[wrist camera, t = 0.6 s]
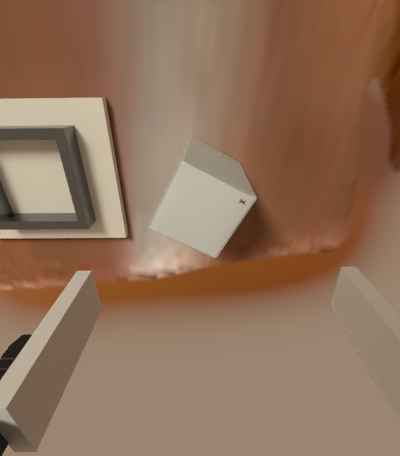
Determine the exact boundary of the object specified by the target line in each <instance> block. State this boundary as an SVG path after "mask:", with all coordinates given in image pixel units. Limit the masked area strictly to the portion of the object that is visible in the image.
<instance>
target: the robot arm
mask: <svg viewBox="0 0 400 456" xmlns="http://www.w3.org/2000/svg"><path fill="white" fill-rule="evenodd" d="M330 307H331V309H332V311H333V312H334V314H335V316H336V317H337V319H338V320H339V322H340V324H341V325H342V327H343V329H344V330H345V332H346V334H347V335H348V337H349V339H350V340H351V342H352V344H353V345H354V347H355V349H356V350H357V352H358V354H359V355H360V357H361V359H362V360H363V362H364V364H365V365H366V367H367V369H368V370H369V372H370V374H371V375H372V377H373V378H374V380H375V382H376V384H377V385H378V387H379V388H380V390H381V392H382V393H383V395H384V396H385V398H386V400H387V402H388V403H389V405H390V407H391V408H392V410H393V412H394V413H395V415H396V416H397V418H398V420H399V422H400V316H399V314H398V313H397V312H396V311H395V310H394V309H393V308H392V307H391V305H390V304H389V303H388V302H387V301H386V300H385V299H384V298H383V296H382V295H381V294H380V293H379V292H378V291H377V290H376V289H375V287H373V285H372V284H371V283H370V282H369V281H368V280H367V279H366V277H365V276H364V275H363V274H362V273H361V272H360V271H359V270H358V268H357V267H341V269H340V273H339V276H338V279H337V283H336V286H335V289H334V293H333V296H332V300H331V303H330ZM101 310H102V307H101V303H100V300H99V296H98V293H97V289H96V285H95V282H94V278H93V274H92V271H77V272H76V273H75V275H74V276H73V278H72V279H71V280H70V282H69V283H68V285H67V286H66V288H65V289H64V290H63V292H62V293H61V295H60V296H59V298H58V299H57V300H56V302H55V304H54V305H53V306H52V308H51V309H50V311H49V312H48V313H47V315H46V316H45V318H44V319H43V320H42V322H41V323H40V325H39V326H38V328H37V329H36V330H35V332H34V333H33V335H22V336H21V337H20V338H18V339H17V340H16V341H15V342H14V343H12V344H11V345H10V346H9V347H8V349H7V350H6V351H5V353H4V354H3V356H2V357H1V360H0V456H2V454H3V452H4V451H5V448H6V447H7V445H9V446H10V447H11V448H12V450H13V451H14V452H36V451H37V449H38V446H39V444H40V442H41V440H42V438H43V436H44V434H45V431H46V429H47V427H48V425H49V423H50V421H51V418H52V416H53V414H54V412H55V410H56V408H57V405H58V403H59V401H60V399H61V397H62V395H63V392H64V390H65V388H66V386H67V384H68V382H69V379H70V377H71V375H72V373H73V371H74V368H75V366H76V364H77V362H78V360H79V357H80V355H81V354H82V351H83V349H84V347H85V345H86V343H87V340H88V338H89V336H90V334H91V332H92V330H93V327H94V325H95V323H96V321H97V319H98V317H99V314H100V312H101Z"/></svg>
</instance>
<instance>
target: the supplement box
mask: <svg viewBox="0 0 400 456" xmlns="http://www.w3.org/2000/svg"><path fill="white" fill-rule="evenodd" d="M256 200H257V197H256V195H255V193H254V191H253V189H252V187H251V185H250V183H249V181H248V179H247V177H246V175H245V173H244V171H243V169H242V167H241V165H240V163H239V162H237V161H236V160H234V159H232V158H230V157H229V156H227V155H225V154H223V153H221V152H220V151H218V150H216V149H214V148H213V147H211V146H209V145H207V144H206V143H204V142H202V141H200V140H198V139H197V138H195V137H193V136H190V137H189V139H188V141H187V143H186V145H185V147H184V149H183V151H182V153H181V155H180V157H179V159H178V161H177V163H176V165H175V167H174V169H173V171H172V174H171V176H170V178H169V180H168V182H167V184H166V186H165V189H164V191H163V194H162V196H161V199H160V201H159V204H158V206H157V209H156V212H155V214H154V217H153V219H152V222H151V224H150V227H149V228H150V229H151V230H153V231H156V232H158V233H160V234H162V235H164V236H167V237H169V238H171V239H173V240H176V241H178V242H180V243H182V244H185V245H187V246H189V247H191V248H193V249H195V250H197V251H199V252H201V253H204V254H206V255H208V256H210V257H212V258H217V256H218V255H219V254H220V252H221V251H222V249H223V248H224V246H225V245H226V243H227V242H228V240H229V239H230V237H231V236H232V234H233V233H234V232H235V231H236V229H237V228H238V226H239V224H240V223H241V221H242V220H243V218H244V217H245V215H246V214H247V213H248V211H249V210H250V208H251V207H252V205H253V204H254V203H255V201H256Z"/></svg>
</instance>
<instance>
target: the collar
mask: <svg viewBox="0 0 400 456" xmlns="http://www.w3.org/2000/svg"><path fill="white" fill-rule="evenodd" d="M0 140H56V142H57V146H58V150H59V153H60V157H61V161H62V165H63V168H64V172H65V176H66V179H67V183H68V187H69V191H70V194H71V198H72V202H73V205H74V209H75V213H13V211H12V209H11V206H10V204H9V201H8V199H7V196H6V194H5V191H4V189H3V186H2V184H1V181H0V230H42V229H90V227H91V226H92V225H93V224H94V223H95V221H96V218H95V214H94V209H93V205H92V201H91V196H90V192H89V188H88V183H87V179H86V175H85V170H84V166H83V162H82V157H81V153H80V149H79V144H78V140H77V136H76V131H75V127H74V125H54V126H0Z"/></svg>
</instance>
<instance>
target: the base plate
mask: <svg viewBox="0 0 400 456" xmlns="http://www.w3.org/2000/svg"><path fill="white" fill-rule="evenodd" d="M54 125H74V127H75V131H76V136H77V140H78V144H79V149H80V153H81V157H82V162H83V166H84V170H85V175H86V179H87V183H88V188H89V192H90V196H91V201H92V205H93V209H94V214H95V218H96V221H95V223H94V224H93V225H92V226H91V227H90V229H42V230H0V238H126V237H127V235H128V229H127V223H126V217H125V211H124V205H123V199H122V193H121V187H120V181H119V175H118V169H117V163H116V157H115V151H114V145H113V139H112V133H111V127H110V121H109V115H108V109H107V103H106V98H27V99H0V126H54ZM0 181H1V184H2V186H3V189H4V191H5V194H6V196H7V199H8V201H9V204H10V206H11V209H12V211H13V213H75V209H74V205H73V202H72V198H71V194H70V191H69V187H68V183H67V179H66V176H65V172H64V168H63V165H62V161H61V157H60V153H59V150H58V146H57V142H56V140H0Z"/></svg>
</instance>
